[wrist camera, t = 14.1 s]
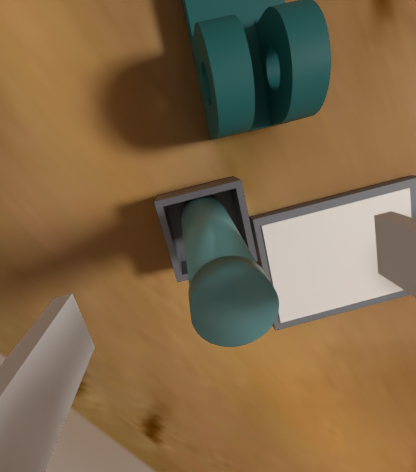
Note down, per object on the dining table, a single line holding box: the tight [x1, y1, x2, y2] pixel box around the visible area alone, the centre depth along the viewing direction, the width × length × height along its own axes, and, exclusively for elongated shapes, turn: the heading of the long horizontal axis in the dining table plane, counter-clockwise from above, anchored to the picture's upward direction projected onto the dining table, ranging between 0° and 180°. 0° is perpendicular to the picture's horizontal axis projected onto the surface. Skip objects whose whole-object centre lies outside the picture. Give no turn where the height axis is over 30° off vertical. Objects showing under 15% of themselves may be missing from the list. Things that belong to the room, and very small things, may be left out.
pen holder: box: [154, 176, 258, 282], centre depth 25 cm, size 7×7×4 cm
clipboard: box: [250, 175, 416, 331], centre depth 28 cm, size 11×15×2 cm
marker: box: [181, 195, 279, 347], centre depth 20 cm, size 4×4×14 cm
